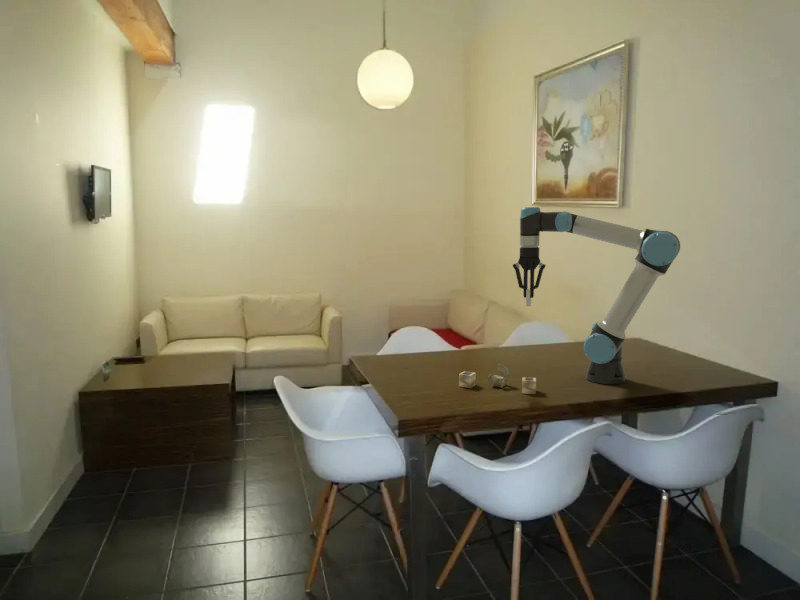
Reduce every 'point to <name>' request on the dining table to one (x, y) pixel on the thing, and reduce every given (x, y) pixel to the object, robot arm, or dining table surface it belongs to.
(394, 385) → the dining table surface
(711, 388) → the dining table surface
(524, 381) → the marked cube 2
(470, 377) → the marked cube 1
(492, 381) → the white irregular piece
